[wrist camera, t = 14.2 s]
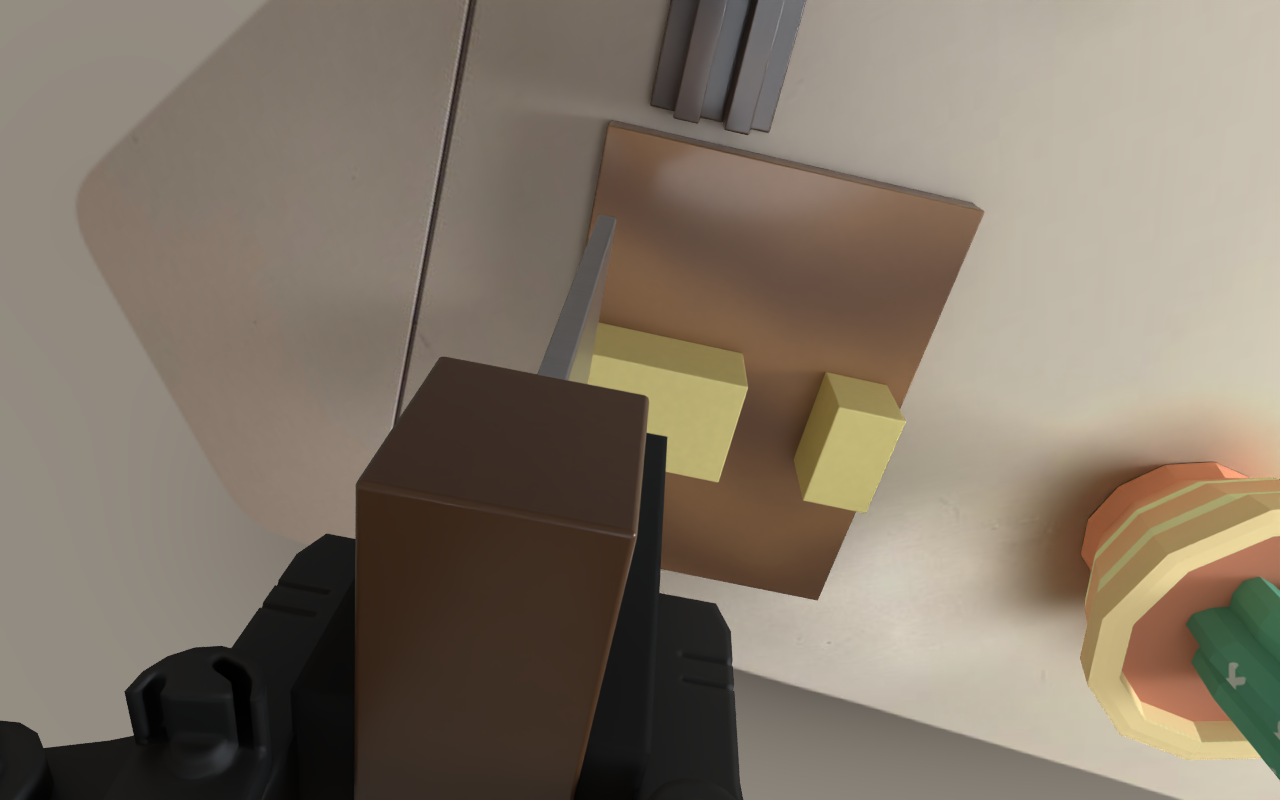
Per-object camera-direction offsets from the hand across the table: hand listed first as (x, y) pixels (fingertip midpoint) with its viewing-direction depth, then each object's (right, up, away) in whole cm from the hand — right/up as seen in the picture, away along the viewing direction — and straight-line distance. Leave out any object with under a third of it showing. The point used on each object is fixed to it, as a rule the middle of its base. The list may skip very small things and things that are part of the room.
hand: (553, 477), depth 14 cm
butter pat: (+11, 0, +22) cm, 25 cm away
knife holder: (+6, +18, +15) cm, 24 cm away
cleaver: (0, +2, +4) cm, 4 cm away
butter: (+2, +2, +21) cm, 22 cm away
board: (+6, +2, +23) cm, 24 cm away
